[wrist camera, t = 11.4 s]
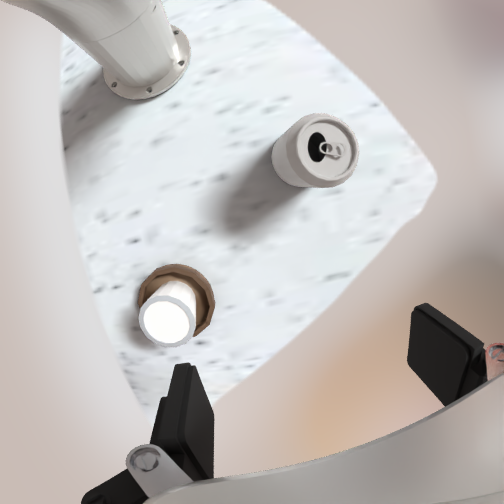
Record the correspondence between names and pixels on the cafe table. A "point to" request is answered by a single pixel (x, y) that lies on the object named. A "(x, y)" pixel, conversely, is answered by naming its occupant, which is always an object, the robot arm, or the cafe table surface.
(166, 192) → the cafe table surface
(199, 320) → the round bowl
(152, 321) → the white tapered cylinder
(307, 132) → the can
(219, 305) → the cafe table surface
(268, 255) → the cafe table surface
